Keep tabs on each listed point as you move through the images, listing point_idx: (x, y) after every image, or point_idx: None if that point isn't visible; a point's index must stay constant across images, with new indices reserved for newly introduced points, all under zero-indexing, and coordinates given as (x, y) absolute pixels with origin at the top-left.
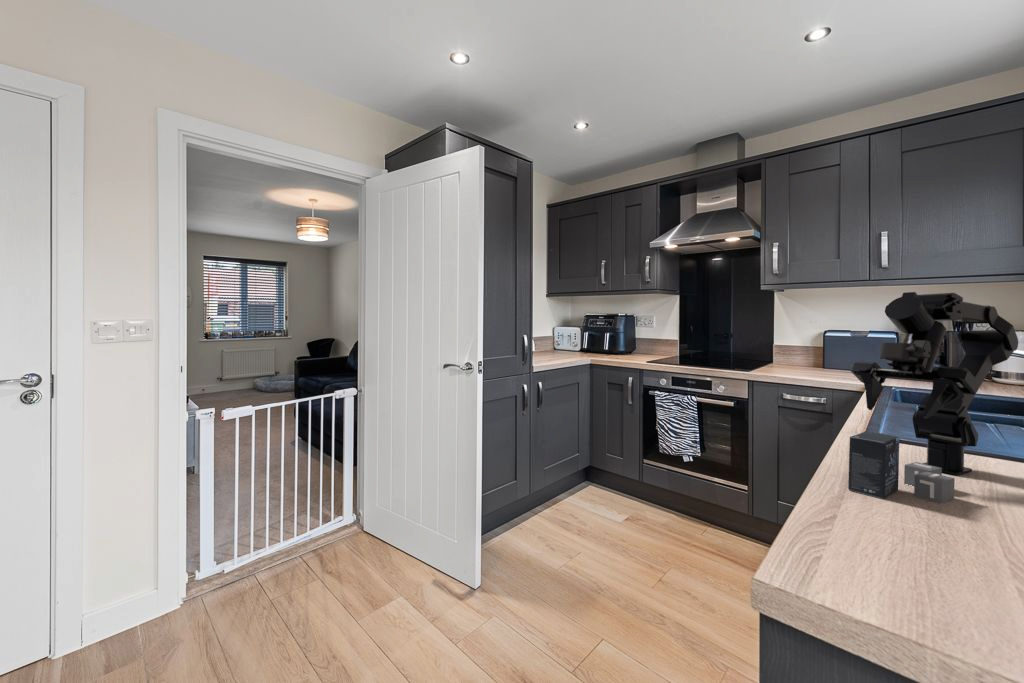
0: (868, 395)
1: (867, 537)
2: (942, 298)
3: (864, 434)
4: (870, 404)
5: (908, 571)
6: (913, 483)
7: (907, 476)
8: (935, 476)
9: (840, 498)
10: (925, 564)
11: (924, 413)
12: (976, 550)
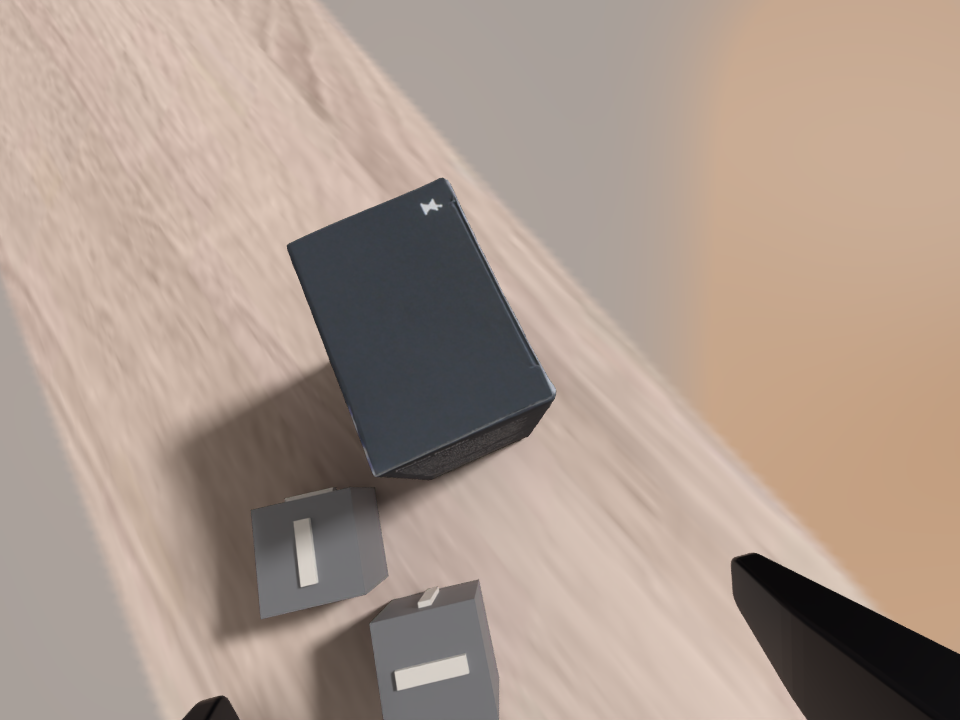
0: (917, 661)
1: (205, 90)
2: None
3: (464, 294)
4: (762, 592)
5: (81, 49)
6: (444, 589)
7: (465, 589)
8: (296, 545)
9: None
10: (82, 99)
11: (193, 716)
12: (68, 257)
